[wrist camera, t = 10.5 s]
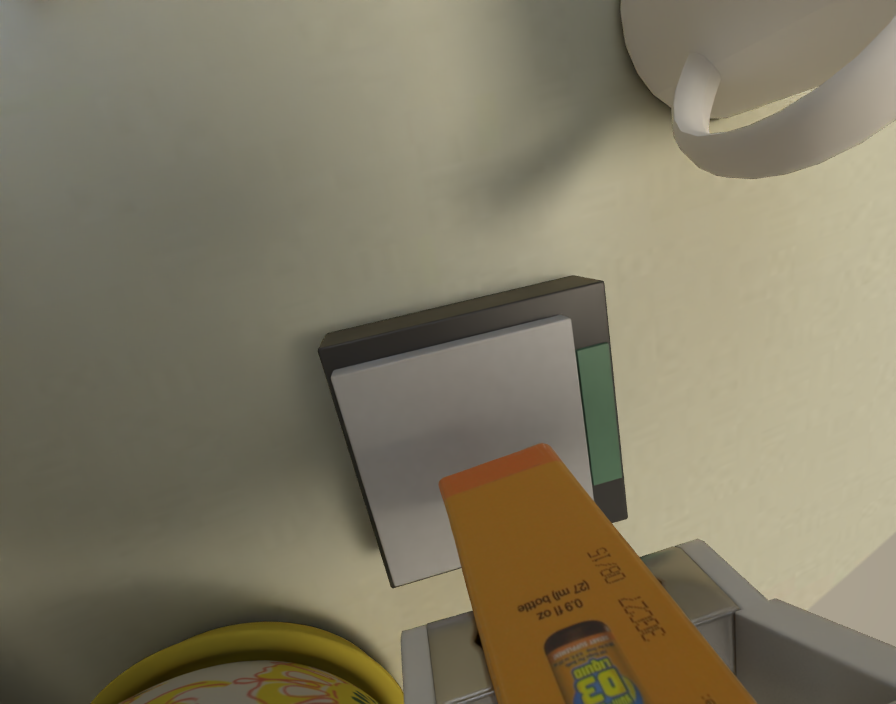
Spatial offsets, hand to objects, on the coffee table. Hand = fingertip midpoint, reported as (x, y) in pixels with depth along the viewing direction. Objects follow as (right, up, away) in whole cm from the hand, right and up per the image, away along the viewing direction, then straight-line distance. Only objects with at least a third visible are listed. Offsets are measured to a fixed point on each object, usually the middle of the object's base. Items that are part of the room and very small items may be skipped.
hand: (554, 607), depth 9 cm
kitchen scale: (-1, +2, +9) cm, 10 cm away
